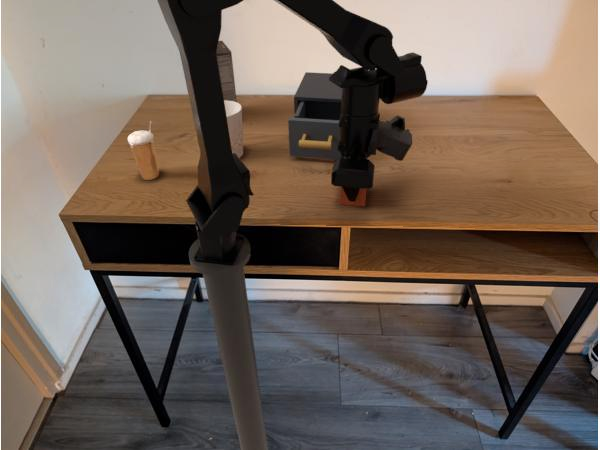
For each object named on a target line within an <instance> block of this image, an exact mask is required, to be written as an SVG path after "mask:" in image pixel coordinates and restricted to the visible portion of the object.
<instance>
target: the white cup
mask: <svg viewBox="0 0 600 450" xmlns="http://www.w3.org/2000/svg"><path fill="white" fill-rule="evenodd" d="M224 104H225V110H226V116H227V123H228V129H229V136H230V142H231V148H232V154H233V153H236V155H237V156H238V157H239V158H240V159H241V157H243V155H244V126H243V125H244V123H243V108H242V105H241V103H238V102H234V101H224Z"/></svg>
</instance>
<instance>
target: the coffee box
mask: <svg viewBox="0 0 600 450" xmlns="http://www.w3.org/2000/svg"><path fill="white" fill-rule="evenodd" d="M232 55H233V54H232V50H230V48H229V47H228V46H227V44H225V42H224V41H223V40H219V42H218V46H217V59H218V65H219V72H220V78H221V84H222V91H223V97H224V101H234V102H237V91H236V82H235V72H234V63H233V56H232ZM237 103H238V102H237Z"/></svg>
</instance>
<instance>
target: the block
mask: <svg viewBox="0 0 600 450" xmlns="http://www.w3.org/2000/svg"><path fill="white" fill-rule="evenodd" d="M366 199H367V189H363V188H360V190H359V193H358V196H357V198H356V201H355V202H351V201H349V200H348V198H347V196H346V194H345V192H344V190H343V188H342V187H339V205H346V206H357V207H365V206H366Z"/></svg>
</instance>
